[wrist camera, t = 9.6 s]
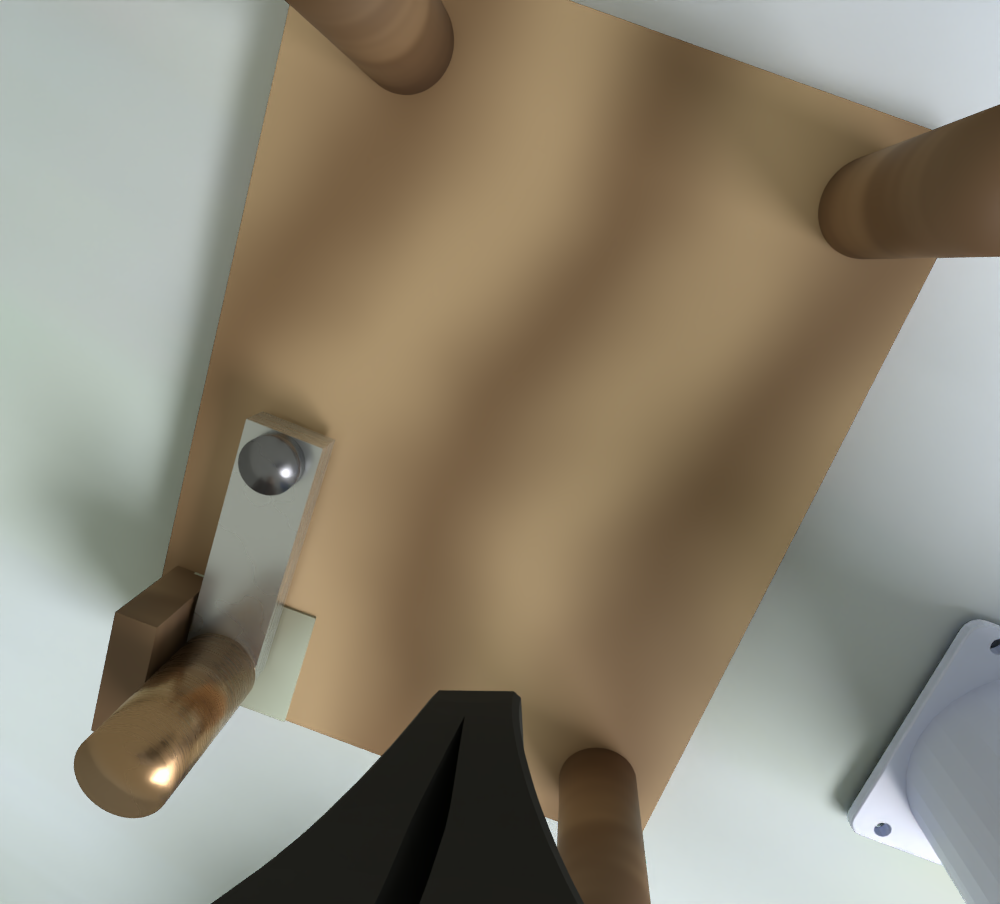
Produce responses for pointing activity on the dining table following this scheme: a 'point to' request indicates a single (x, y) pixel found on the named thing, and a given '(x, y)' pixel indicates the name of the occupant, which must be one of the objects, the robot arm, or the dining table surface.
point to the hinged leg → (215, 625)
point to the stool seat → (549, 373)
